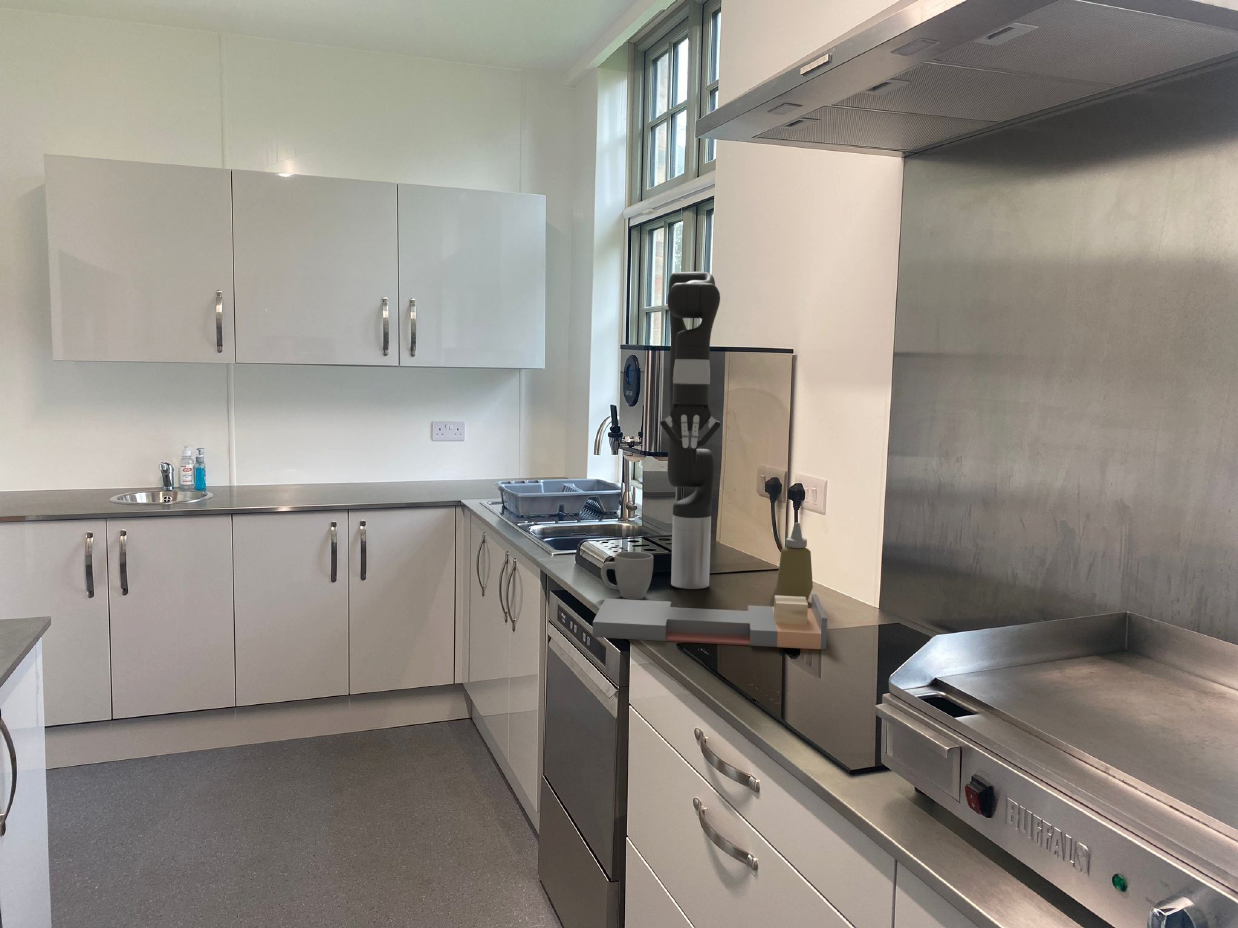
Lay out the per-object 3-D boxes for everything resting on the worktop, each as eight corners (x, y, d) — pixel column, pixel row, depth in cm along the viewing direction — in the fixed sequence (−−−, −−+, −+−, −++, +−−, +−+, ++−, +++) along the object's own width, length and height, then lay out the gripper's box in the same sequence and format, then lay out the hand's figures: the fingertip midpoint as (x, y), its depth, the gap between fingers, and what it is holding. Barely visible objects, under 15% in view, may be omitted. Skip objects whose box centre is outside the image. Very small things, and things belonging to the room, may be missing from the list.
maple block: (773, 614, 172) (774, 595, 171) (804, 616, 171) (805, 596, 171) (775, 623, 166) (776, 602, 165) (807, 624, 165) (808, 604, 165)
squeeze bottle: (773, 604, 192) (776, 524, 190) (778, 595, 200) (781, 519, 198) (810, 607, 190) (813, 527, 188) (813, 598, 197) (816, 521, 196)
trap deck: (605, 612, 183) (605, 584, 182) (815, 622, 178) (816, 594, 177) (592, 636, 165) (593, 606, 164) (825, 649, 160) (827, 618, 159)
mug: (648, 591, 201) (649, 551, 200) (656, 601, 193) (657, 558, 192) (597, 592, 200) (598, 551, 199) (603, 602, 191) (603, 559, 190)
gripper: (723, 382, 179) (721, 465, 180) (660, 381, 180) (658, 463, 182) (724, 382, 171) (721, 468, 173) (658, 381, 173) (656, 466, 175)
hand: (689, 465), depth 178 cm, fingers closed
